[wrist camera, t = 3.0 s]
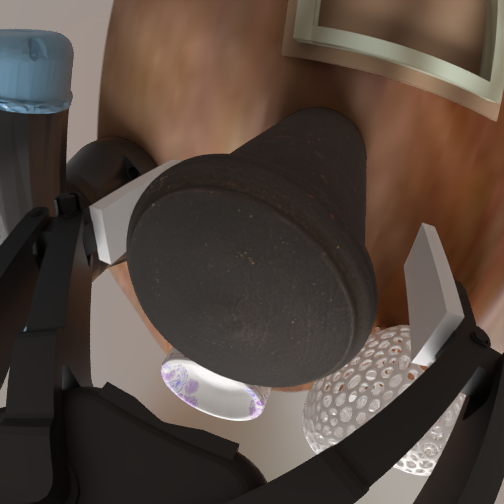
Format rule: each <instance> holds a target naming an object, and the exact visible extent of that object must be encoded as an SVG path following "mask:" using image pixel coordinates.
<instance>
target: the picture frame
mask: <svg viewBox="0 0 504 504" xmlns="http://www.w3.org/2000/svg"><path fill="white" fill-rule="evenodd" d="M281 55H282V56H285V57H292V58H299V59H305V60H311V61H317V62H322V63H328V64H333V65H337V66H342V67H346V68H351V69H355V70H359V71H363V72H367V73H371V74H374V75H378V76H382V77H385V78H388V79H392V80H395V81H398V82H401V83H404V84H407V85H410V86H413V87H416V88H419V89H422V90H424V91H427V92H430V93H433V94H435V95H438V96H440V97H443V98H445V99H448V100H450V101H452V102H455V103H457V104H459V105H462V106H464V107H466V108H468V109H470V110H473V111H475V112H477V113H479V114H481V115H483V116H485V117H487V118H489V119H491V120H494V121H496V122H497V118H498V114H499V110H500V105H501V100H502V95H503V90H504V0H288V6H287V13H286V21H285V29H284V36H283V44H282V51H281Z"/></svg>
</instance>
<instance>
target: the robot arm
mask: <svg viewBox="0 0 504 504" xmlns="http://www.w3.org/2000/svg"><path fill="white" fill-rule="evenodd" d="M73 54H74V53H73V47H72V44H71V42H70V41H69V40H68V38H66V37H65V36H64V35H62V34H60V33H57V32H52V31H44V30H31V29H30V30H29V29H0V389H1V387H2V385H3V383H4V380H5V377H6V375H7V372H8V370H9V367H10V370H9V379H8V388H7V400H6V407H3V408H0V504H354V503H355V502H356V501H358V500H359V499H360V498H361V497H362V496H364V495H365V494H366V493H367V492H368V491H369V487H370V486H371V485H372V484H373V483H374V482H376V481H377V480H378V479H379V478H380V477H382V476H383V475H384V474H385V473H386V472H387V471H388V470H389V469H391V467H393V466H394V465H395V464H396V463H397V462H398V461H399V460H400V459H401V458H402V457H403V456H404V455H405V454H406V453H407V452H408V451H409V450H410V449H411V448H412V447H413V446H414V445H415V444H416V443H417V442H418V441H419V440H420V439H421V438H422V437H423V436H424V435H425V434H426V433H427V432H428V431H429V429H430V428H431V427H432V426H433V425H434V424H435V423H436V422H437V420H438V419H439V418H440V417H441V416H442V414H443V413H444V412H445V411H446V410H447V408H448V407H449V406H450V405H451V403H452V402H453V401H454V400H455V398H456V397H457V396H458V394H459V393H460V392H461V393H463V394H464V395H466V397H465V400H464V403H463V405H462V408H461V410H460V413H459V416H458V418H457V420H456V423H455V425H454V427H453V430H452V432H451V434H450V437H449V439H448V441H447V443H446V445H445V447H444V449H443V451H442V453H441V455H440V457H439V459H438V461H437V463H436V465H435V467H434V469H433V471H432V472H431V474H430V476H429V478H428V480H427V481H426V483H425V485H424V486H423V488H422V490H421V492H420V493H419V495H418V496H417V498H416V500H415V501H414V503H413V504H494V502H495V500H496V497H497V495H498V492H499V490H500V487H501V484H502V481H503V478H504V353H503V354H500V353H499V352H497V351H495V350H494V349H492V348H490V346H491V343H490V339H489V337H488V335H487V334H486V333H485V332H484V330H482V329H481V328H480V327H478V326H476V322H475V319H474V315H473V312H472V308H471V307H470V306H471V305H470V302H469V300H468V295H467V292H466V290H465V289H464V287H463V286H462V284H461V283H460V282H458V281H455V280H454V279H453V276H452V273H451V270H450V267H449V264H448V261H447V258H446V255H445V252H444V249H443V247H442V244H441V241H440V239H439V236H438V234H437V231H436V229H435V227H434V226H431V225H428V224H425V223H422V224H421V226H420V229H419V231H418V234H417V236H416V239H415V241H414V243H413V246H412V248H411V250H410V253H409V255H408V257H407V259H406V262H405V264H404V273H405V281H406V290H407V300H408V311H409V325H410V343H411V363H415V364H419V365H424V366H428V365H429V364H430V362H431V361H432V360H433V359H434V357H435V362H434V363H433V364H432V365H431V366H430V367H429V368H428V369H427V370H426V371H425V372H424V373H423V374H422V375H420V376H419V377H418V378H417V379H416V380H415V381H414V382H413V383H412V384H411V385H410V386H409V387H408V388H407V389H405V390H404V391H403V392H402V393H401V394H400V395H399V396H398V397H396V398H395V399H394V400H393V401H392V402H391V403H389V404H388V405H387V406H386V407H385V408H383V409H382V410H381V411H380V412H379V413H377V414H376V415H375V416H374V417H372V418H371V419H370V420H369V421H367V422H366V423H365V424H363V425H362V426H361V427H359V428H358V429H357V430H355V431H354V432H353V433H351V434H350V435H349V436H347V437H346V438H344V439H343V440H341V441H340V442H339V443H337V444H335V445H334V446H330V447H329V448H327V449H325V450H324V451H322V452H320V453H319V454H317V455H316V456H314V457H312V458H311V459H309V460H308V461H306V462H304V463H303V464H301V465H299V466H297V467H296V468H294V469H293V470H291V471H289V472H287V473H285V474H283V475H282V476H280V477H278V478H276V479H274V480H272V481H270V482H268V483H267V481H266V479H265V478H264V476H263V474H262V473H261V472H260V470H259V469H258V468H257V467H256V466H255V465H254V464H253V463H252V462H251V461H250V460H249V459H247V458H246V457H245V456H244V455H242V454H241V453H239V452H238V448H239V444H238V443H235V442H232V441H230V440H227V439H224V438H221V437H219V436H217V435H214V434H211V433H209V432H207V431H204V430H200V429H194V428H189V427H184V426H179V425H174V424H169V423H165V422H163V421H161V420H160V419H159V418H157V417H156V416H155V415H154V414H152V412H150V411H149V410H148V409H147V408H146V407H145V406H144V405H143V404H142V403H141V402H139V401H138V400H137V399H136V398H135V397H133V396H131V395H130V394H128V393H126V392H124V391H123V390H121V389H119V388H117V387H116V386H114V385H112V384H111V383H109V382H107V383H106V384H105V385H104V387H103V388H97V387H93V384H92V380H91V366H90V305H91V304H90V303H91V286H92V282H93V281H94V280H95V279H96V278H97V277H98V276H99V275H100V274H101V273H102V272H104V271H105V270H106V269H107V268H109V267H112V266H115V265H117V264H120V263H122V262H125V261H127V256H126V238H127V231H128V225H129V221H130V217H131V215H132V212H133V209H134V207H135V205H136V203H137V201H138V200H139V198H140V196H141V195H142V193H143V192H144V190H145V189H146V188H147V187H148V185H149V184H150V183H151V182H152V181H153V180H154V179H155V178H156V177H158V176H159V175H160V174H161V173H162V172H164V171H165V170H167V169H168V168H170V167H172V166H173V165H175V164H177V163H179V162H181V160H176V159H172V160H170V161H168V162H166V163H164V164H162V165H160V166H158V167H157V166H156V165H155V163H154V162H153V160H152V159H151V158H150V157H149V156H148V154H147V153H146V152H145V151H144V150H142V149H141V148H140V147H139V146H137V145H136V144H134V143H133V142H131V141H129V140H127V139H124V138H121V137H113V136H111V137H104V138H101V139H99V140H96V141H94V142H91V143H89V144H87V145H86V146H84V147H83V148H82V149H80V150H79V152H77V153H76V154H75V155H74V157H72V158H71V159H70V160H69V161H68V163H66V150H67V126H68V113H69V107H70V105H71V101H72V98H73V96H72V92H71V90H70V88H71V76H72V75H71V74H72V66H73Z"/></svg>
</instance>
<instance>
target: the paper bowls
mask: <svg viewBox="0 0 504 504" xmlns="http://www.w3.org/2000/svg"><path fill="white" fill-rule="evenodd" d="M161 373H162V377H163V379H164V381H165V383H166V384H167V386H168V387H169V388H170V389H171V390H172V391H173V392H174V393H175V394H176V395H177V396H178V397H180V398H181V399H182V400H183V401H185V402H186V403H188V404H189V405H191V406H192V407H194V408H196V409H198V410H200V411H203V412H205V413H207V414H210V415H213V416H215V417H219V418H223V419H228V420H236V421H243V420H250V419H254V418H256V417H258V416H259V415H260V414H261V413H262V412H263V410H264V407H265V404H266V402H267V399H268V395H269V393H270V389H271V387H263V386H257V385H249V384H245V383H241V382H238V381H234V380H231V379H228V378H225V377H223V376H220V375H218V374H215V373H213V372H211V371H209V370H207V369H205V368H204V367H202V366H200V365H198V364H196V363H195V362H193V361H192V360H190V359H189V358H187V357H186V356H184V355H183V354H182V353H180V352H179V351H178V350H177V349H175V348H174V347H173V348H172V349H171V351H170V352H169V354H168V356H167V358H166V359H165V360H164V362H163V363H162V367H161Z"/></svg>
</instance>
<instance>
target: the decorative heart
mask: <svg viewBox="0 0 504 504" xmlns="http://www.w3.org/2000/svg"><path fill="white" fill-rule="evenodd" d="M394 334H396V335H394ZM406 336H407V337H406ZM398 340H401V341H402V342H400V343H398ZM393 348H396V350H395V352H392V349H393ZM398 349H400V350H401V353H400V354H398ZM361 350H362V351H360V352H359V353H358V354H357V356H356V357H355V358H354V359H352V360H351V361H350V362H349V363H348V364H347V365H345V366H344V367H343V368H341V369H340V370H338V371H336V372H335V373H333V374H331V375H329V376H327V377H324V378H321V379H319V380H315V381H314V383H313V385H312V386H311V388H310V390H309V393H308V395H307V398H306V401H305V404H304V409H303V420H302V424H303V430H304V434H305V437H306V439H307V441H308V443H309V445H310V447H311V448H312V449H313V451H314V452H315V453H316V454H319V453H320V452H322V451H324V450H325V449H327V448H329V447H330V446H332V445H330V444H329V443H333V444H337V443H339V442H340V441H341V440H343V439H344V438H346V437H347V436H349V435H350V434H351V433H353V432H354V430H353V429H352V427H353V426H355V428H356V430H357V429H358V428H359V427H361V426H362V425H363V424H365V423H366V422H367V421H369V420H370V419H371V418H372V417H374V416H375V415H376V414H377V413H379V412H380V411H381V410H382V409H383V408H385V407H386V406H387V405H388V404H389V403H391V402H392V401H393V400H394V399H395V398H396V397H398V396H399V395H400V394H401V393H402V392H403V391H404V390H405V389H407V388H408V387H409V385H411V384H412V383H413V382H414V381H415V380H416V379H417V378H418V377H419V376H420V375H422V374H423V373H424V372H425V370H422V369H421V368H420V366H419V364H415V363H411V343H410V325H398V326H394V327H390V328H387V329H384V330H381V331H380V327H376V330H375V333H373V334H371V335H369V338H368V340H367V341H366V343H365V345H364V346H363V348H362V349H361ZM369 352H370V353H369ZM367 353H368V354H367ZM381 354H382V356H381V357H379V356H380V355H381ZM378 357H379V358H378ZM355 360H356V361H355ZM383 360H384V363H385V364H382V361H383ZM393 360H395V363H393ZM399 360H400V362H399ZM354 361H355V362H354ZM406 361H407V362H406ZM366 362H368V363H367V364H365V365H362V364H364V363H366ZM398 362H399V366H398ZM405 362H406V364H405ZM409 362H410V366H409V367H408V365H409ZM434 362H435V357H434V359H433V360H432V361H431V362H430V364H429V365H428V366H427V367H428V368H429V367H430V366H431V365H432V364H433V363H434ZM377 363H378V365H377V366H376V364H377ZM390 369H391V370H390ZM385 370H387V372H388V375H387V374H385ZM348 372H349V374H348V375H347V376H346V377H344V376H345V375H346V374H347V373H348ZM409 372H411V373H412V374H413V375H414V377H415V380H409V379H408V378H407V375H408V373H409ZM336 375H338V376H337V377H336ZM335 377H336V378H335ZM379 383H380V384H382V385H383V386H384V387H380V385H379ZM328 384H330V386H329V388H328V389H327V390H326V386H327V385H328ZM341 384H344V387H343V388H342V390H341V391H340V392H339V391H338V390H339V388H340V386H341ZM374 385H375V389H374V391H373V392H372V393H371V390H372V387H373V386H374ZM366 386H368V389H367V390H366V391H364V389H365V387H366ZM378 391H380V392H379V393H378V394H377V392H378ZM376 394H377V395H376ZM319 395H320V396H319ZM343 395H344V399H343V404H341V403H340V399H341V397H342V396H343ZM331 397H332V402H331V404H330V405H328V400H329V399H330V398H331ZM465 397H466V395H464V394H463V393H461V392H460V393H459V394H458V396H457V397H456V399H455V400H454V401H453V402H452V403H451V405H450V406H449V407H448V408H447V410H446V411H445V412H444V413H443V414H442V416H441V417H440V418H439V419H438V422H436V423H435V424H434V425H433V426H432V427H431V428H430V429H429V431H428V432H427V433H426V434H425V437H424V438H421V439H420V440H419V441H418V442H417V443H416V444H415V445H414V446H415V448H411V449H410V450H409V451H408V452H407V456H403V457H402V458H401V459H400V460H399V461H398V462H397V463H396V464H395V465H394V466H393V467H395V468H397V469H399V470H402V471H404V472H407V473H411V474H416V475H430V474H431V472H432V471H433V469H434V467H435V465H436V463H437V461H438V460H436V458H439V457H440V455H441V453H442V451H443V449H444V447H445V445H446V443H447V440H448V439H449V437H450V435H449V434H451V432H452V430H453V427H454V425H455V423H456V420H457V418H458V416H459V413H460V410H461V408H462V405H463V403H464V400H465ZM360 398H361V400H360V402H359V403H358V404H357V401H358V400H359V399H360ZM366 399H367V403H366V405H365V406H364V407H363V402H364V401H365V400H366ZM372 402H373V403H372ZM371 403H372V405H371V406H370V404H371ZM319 405H320V406H321V408H320V409H319ZM375 407H377V408H378V409H377V410H376V409H375ZM454 407H455V409H454ZM347 408H350V410H348V409H347ZM314 409H315V410H314ZM333 409H336V410H335V411H334V410H333ZM343 410H344V413H345V415H344V417H343V418H342V417H341V413H342V411H343ZM370 411H372V412H370ZM447 411H448V412H449V415H448V416H447V417H446V416H445V415H446V412H447ZM324 412H326V413H327V415H326V416H324V415H323V413H324ZM351 412H353V414H352V418H351V419H350V420H349V414H350V413H351ZM332 414H334V415H332ZM359 414H360V419H359V420H358V421H356V417H357V416H358V415H359ZM317 416H318V420H317V421H316V419H317ZM334 418H335V421H332V419H334ZM323 419H326V422H323ZM445 419H446V420H449V421H450V425H449V426H448V427H447V426H446V423H445ZM363 422H364V423H363ZM320 427H321V429H320ZM328 427H329V428H330V429H328ZM338 427H342V428H343V431H344V433H340V432H338V431H337V428H338ZM438 427H440V428H442V432H441V433H437V432H436V431H435V429H436V428H438ZM431 429H432V430H431ZM328 433H331V434H330V435H327V434H328ZM431 433H434V434H435V435H436V437H431ZM448 435H449V436H448ZM440 436H441V439H439V440H437V438H438V437H440ZM320 437H321V438H323V440H324V442H322V441H321V440H320ZM429 443H430V444H433V445H429ZM424 445H426V446H425V447H424ZM435 447H436V448H437V453H435V452H434V448H435ZM440 447H441V448H440ZM426 449H431V452H430V453H426V452H425V450H426ZM419 453H422V454H419ZM412 455H415V456H416V457H417V458H414V457H413V456H412ZM408 461H409V462H408ZM429 462H433V464H431V465H428V464H427V463H429ZM421 463H423V464H421Z"/></svg>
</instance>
